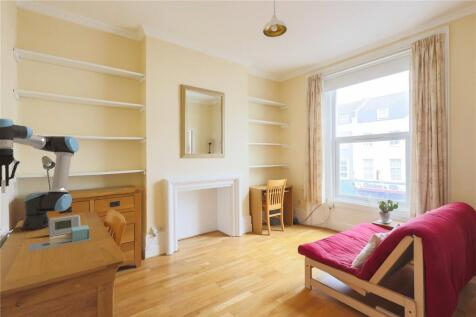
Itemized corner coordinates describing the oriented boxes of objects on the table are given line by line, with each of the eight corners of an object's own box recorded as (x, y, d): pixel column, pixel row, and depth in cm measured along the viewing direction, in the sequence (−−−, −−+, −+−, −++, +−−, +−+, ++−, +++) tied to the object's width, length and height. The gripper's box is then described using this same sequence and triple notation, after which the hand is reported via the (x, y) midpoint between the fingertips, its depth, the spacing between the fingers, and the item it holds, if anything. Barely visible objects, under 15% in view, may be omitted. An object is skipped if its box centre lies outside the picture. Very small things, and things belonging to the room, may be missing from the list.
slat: (49, 242, 130) (49, 237, 130) (80, 237, 138) (80, 232, 138) (49, 244, 127) (49, 239, 127) (80, 239, 135) (80, 233, 135)
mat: (29, 245, 127) (29, 244, 127) (88, 235, 144) (88, 234, 144) (27, 252, 117) (27, 251, 117) (90, 240, 134) (90, 239, 134)
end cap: (71, 237, 138) (71, 227, 138) (87, 234, 143) (87, 225, 143) (72, 241, 131) (72, 231, 131) (89, 238, 136) (89, 228, 136)
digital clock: (47, 238, 139) (47, 220, 139) (50, 234, 147) (49, 217, 147) (80, 233, 147) (80, 216, 147) (81, 230, 155) (81, 214, 155)
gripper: (-16, 147, 117) (-16, 194, 117) (19, 148, 125) (19, 192, 125) (-14, 148, 123) (-13, 193, 123) (20, 148, 131) (21, 190, 131)
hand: (3, 192), depth 124 cm, fingers closed
